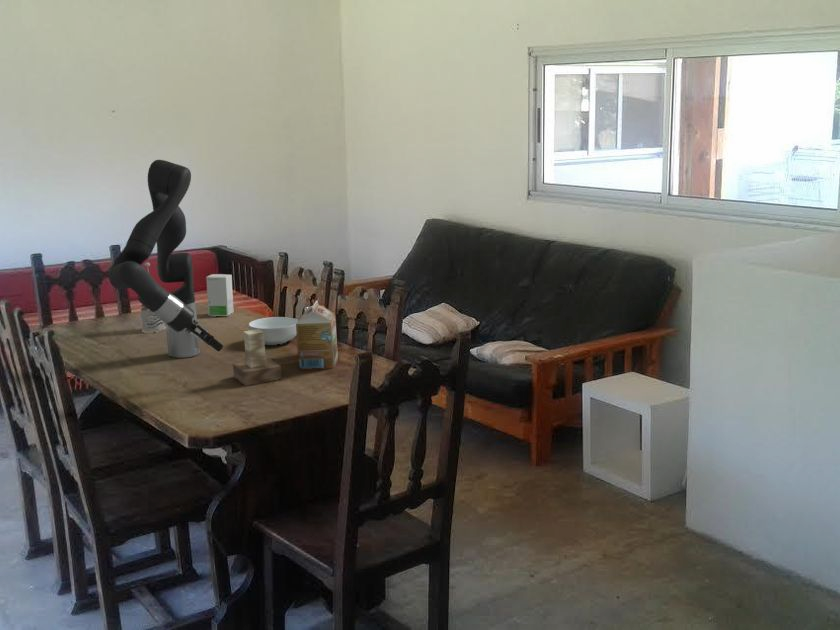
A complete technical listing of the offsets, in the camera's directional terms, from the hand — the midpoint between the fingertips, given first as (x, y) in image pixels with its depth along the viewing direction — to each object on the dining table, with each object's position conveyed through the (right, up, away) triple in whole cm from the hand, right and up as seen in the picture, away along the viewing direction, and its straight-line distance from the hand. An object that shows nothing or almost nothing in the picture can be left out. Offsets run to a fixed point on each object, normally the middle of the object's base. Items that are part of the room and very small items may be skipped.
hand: (216, 345), depth 269 cm
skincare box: (-18, +9, +94) cm, 96 cm away
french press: (-38, +3, +74) cm, 83 cm away
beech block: (+10, -6, +6) cm, 13 cm away
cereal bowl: (+9, -1, +48) cm, 49 cm away
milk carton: (+27, -6, +20) cm, 34 cm away
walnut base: (+11, -10, +7) cm, 16 cm away
